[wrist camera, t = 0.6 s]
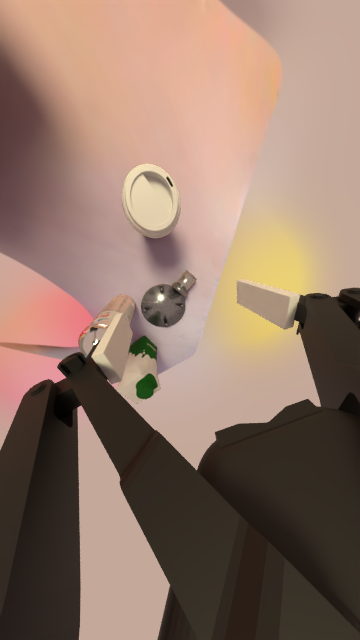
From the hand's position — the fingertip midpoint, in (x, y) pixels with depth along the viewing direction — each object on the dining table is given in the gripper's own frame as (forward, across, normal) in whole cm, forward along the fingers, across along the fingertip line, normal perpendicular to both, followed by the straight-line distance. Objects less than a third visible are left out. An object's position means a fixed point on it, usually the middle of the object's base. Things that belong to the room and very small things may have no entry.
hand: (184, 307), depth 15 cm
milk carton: (+28, -14, -23) cm, 39 cm away
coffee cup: (+28, +1, +13) cm, 31 cm away
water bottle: (+28, -14, -6) cm, 32 cm away
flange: (+28, 0, -8) cm, 29 cm away
